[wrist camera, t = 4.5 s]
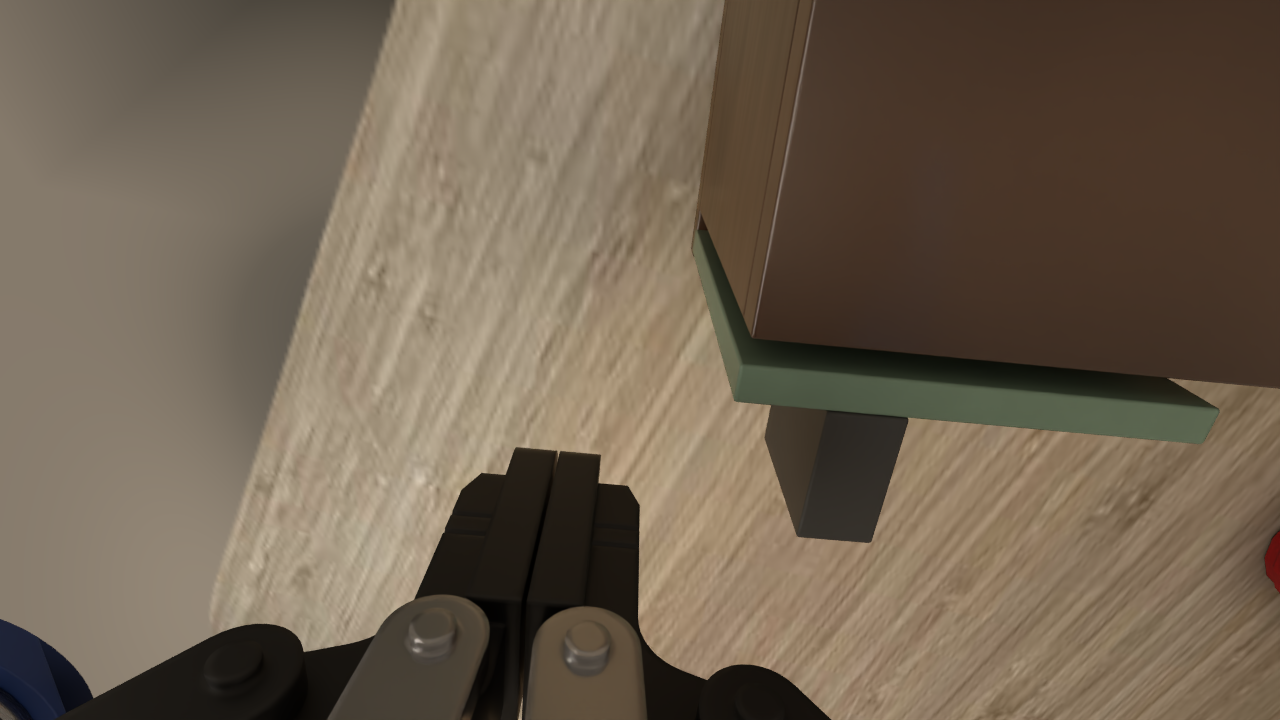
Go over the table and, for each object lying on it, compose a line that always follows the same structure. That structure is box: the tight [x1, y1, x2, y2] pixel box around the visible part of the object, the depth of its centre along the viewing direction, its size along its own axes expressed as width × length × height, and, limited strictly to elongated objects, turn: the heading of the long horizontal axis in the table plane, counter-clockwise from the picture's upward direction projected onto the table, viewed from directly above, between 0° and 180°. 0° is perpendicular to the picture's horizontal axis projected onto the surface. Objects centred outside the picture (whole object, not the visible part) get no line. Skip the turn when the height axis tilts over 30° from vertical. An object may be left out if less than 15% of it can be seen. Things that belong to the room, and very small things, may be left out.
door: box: [693, 230, 1220, 543], centre depth 18 cm, size 4×9×11 cm, turn 84°
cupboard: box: [691, 0, 1280, 389], centre depth 16 cm, size 14×18×12 cm
